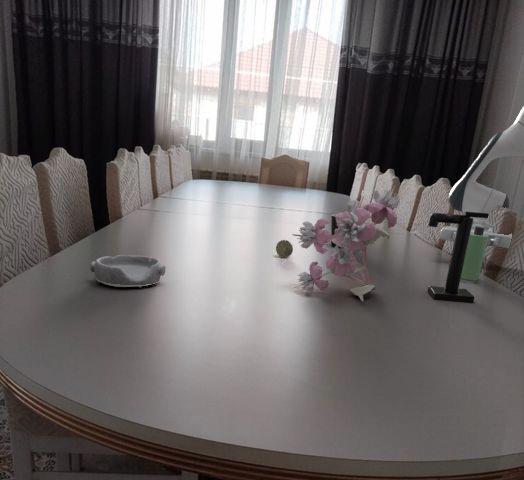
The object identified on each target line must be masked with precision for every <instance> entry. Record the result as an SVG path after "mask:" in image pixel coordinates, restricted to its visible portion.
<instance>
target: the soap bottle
mask: <svg viewBox="0 0 524 480" xmlns="http://www.w3.org/2000/svg"><path fill="white" fill-rule="evenodd" d="M484 229H485V228H484V227H478V226H476V227H475V230H474V233H470V237H469V242H468V247H467V251H466V256H465V260H464V265H463V270H462V274H461V279H462V280H465V281H471V282H472V281H473V282H475V281H479V279H480V275H481V270H482V266H483V261H484V257H485V253H486V249H487V248H486V245H487V240H488V235H484V234H483V233H484ZM461 279H460V280H461Z"/></svg>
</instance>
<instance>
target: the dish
mask: <svg viewBox="0 0 524 480" xmlns="http://www.w3.org/2000/svg"><path fill="white" fill-rule="evenodd" d="M166 268H167V267H166V265H162V263H161V261H160V260H159V258H156V257H151V256H149V255H133V254H130V255H129V254H117V255H115V256H110V255H105V256H102V257H99V258H97V259H96V260H95V261H91V263H90V272H93V273H94V278H95V277H96V278H97V279H98V280H100V281H103V282H106V283H111V284H120V285H146V284H153V283H156V282H158V281H159V282H160V280H161V277H163V276H165V273H166ZM96 278H95V279H96ZM159 282H158V283H159ZM140 288H141V287H139V289H140Z"/></svg>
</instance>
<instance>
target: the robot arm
mask: <svg viewBox="0 0 524 480" xmlns="http://www.w3.org/2000/svg"><path fill="white" fill-rule="evenodd" d="M507 157H509V158H511V157H513V158H523V157H524V105H523V106H522V108H521V109H520V111H519V113H518V115H517V116H516V119H515V120H514V122H513V123H512V124H511V125H510V126H509V127H508V128H507V129H505V130H504V131H498V132H496V133H495V134H494V135H493V136H492V137H491V138H490V139H489V141H488V142H487V144H486V145H485V146H484V147H483V148H482V149H481V151H480V152H479V154H478V155H477V156H476V158H475V159H474V161H473V162H472V163H471V164H470V166H469V167H468V169H467V170H466V171H465V173H464V174H463V175H462V177H461V178H460V179H459V180H458V181H457V182H456V183H455V184H454V185H453V187H452V188H451V190H450V192H449V193H448V198H447V201H448V204H449V206H450V207H451V209H452V210H454V211H458V212H460V213H465V211H467V212H479V213H488V214H490V213H491V211H492V210H493V208H494V207H495V206H497V205H500V206H502V207H504V208H505V207H506V208H508V210H509V208H510V199H509V196H508V194H507V193H504V192H502V191H499V190H497V189H495V188H491V187H489V186H486V185H484V184H481V183H479V182H477V179H478V178H479V177H480V175H481V174H482V173H483V171H484V170H485V169H486V167H487V166H488V165H489V163H491V162H492V161H493V160H496V159H499V158H507ZM471 218H473V224H472V228H471V233H474V230H475V227H476V226H478V227H484V228H485V229H484V233H483V234H484V235H488V240H487V246H495V247H502V248H501V249H503V248H504V249H510V248H509V246H510V243H511V239H512V235H513V234H512V233H511V234H509V235H504V234H497V233H493V232H492V226H493V225H492V224H490V223H489V222H486V218H478V217H471ZM457 227H458V226H453V225H445V226H443V227H441V230H440V235H439V239H440V240H442V241H449V242H454V241H455V236H456V232H457ZM512 240H513V239H512ZM511 244H512V243H511Z"/></svg>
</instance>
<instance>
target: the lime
mask: <svg viewBox="0 0 524 480" xmlns="http://www.w3.org/2000/svg"><path fill="white" fill-rule="evenodd" d="M293 251H294V248H293V244H292V243H291V242H290V240H287V239H281V240H280V241H278V242H277V243H276V246H275V252H276V255H278V257H280V258H283V259H286V258H289V257H290V256H291V255H292V254H293Z"/></svg>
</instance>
